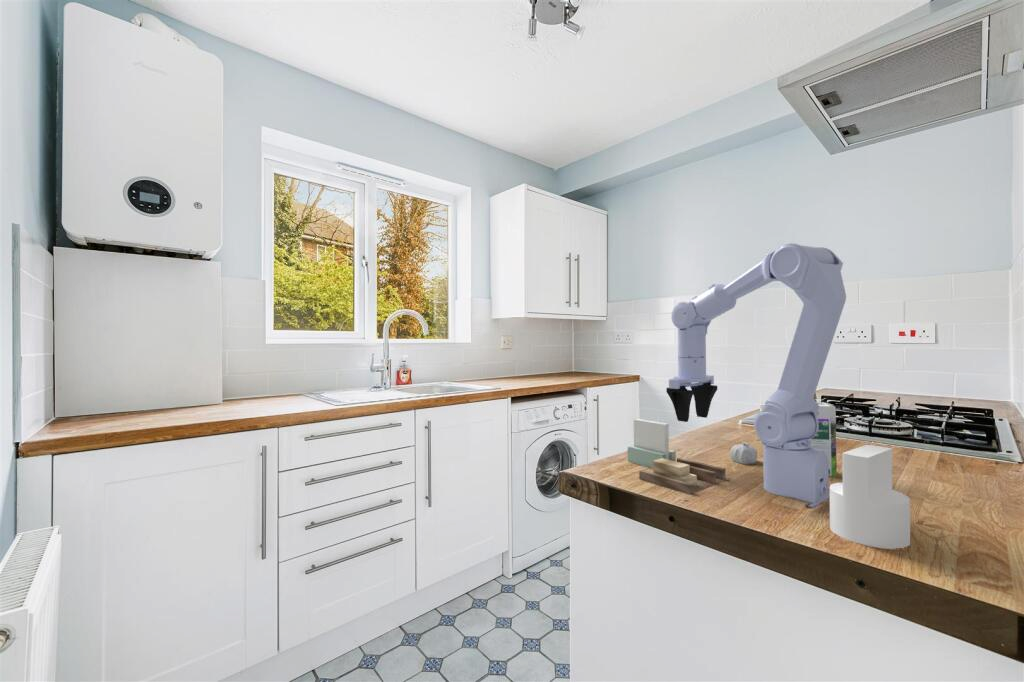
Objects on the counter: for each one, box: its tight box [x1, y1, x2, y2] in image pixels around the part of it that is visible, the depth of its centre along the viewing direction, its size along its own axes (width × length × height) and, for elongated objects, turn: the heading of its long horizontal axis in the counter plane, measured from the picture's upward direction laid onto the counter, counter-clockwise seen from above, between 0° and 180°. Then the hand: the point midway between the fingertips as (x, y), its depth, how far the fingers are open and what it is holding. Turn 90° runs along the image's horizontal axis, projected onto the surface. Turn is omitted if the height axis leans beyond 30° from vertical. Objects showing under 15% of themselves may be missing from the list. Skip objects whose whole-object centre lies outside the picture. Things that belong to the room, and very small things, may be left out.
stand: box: [627, 445, 677, 469], centre depth 98 cm, size 9×5×4 cm, turn 36°
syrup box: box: [810, 401, 838, 478], centre depth 92 cm, size 6×6×14 cm
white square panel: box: [633, 418, 670, 460], centre depth 98 cm, size 8×2×9 cm, turn 36°
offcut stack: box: [652, 458, 697, 486], centre depth 85 cm, size 7×4×4 cm, turn 36°
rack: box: [638, 457, 732, 495], centre depth 87 cm, size 11×14×3 cm
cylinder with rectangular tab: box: [829, 444, 911, 550], centre depth 64 cm, size 9×9×12 cm
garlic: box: [729, 441, 758, 465], centre depth 99 cm, size 6×5×5 cm
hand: (692, 419), depth 98 cm, fingers open, 7 cm apart
